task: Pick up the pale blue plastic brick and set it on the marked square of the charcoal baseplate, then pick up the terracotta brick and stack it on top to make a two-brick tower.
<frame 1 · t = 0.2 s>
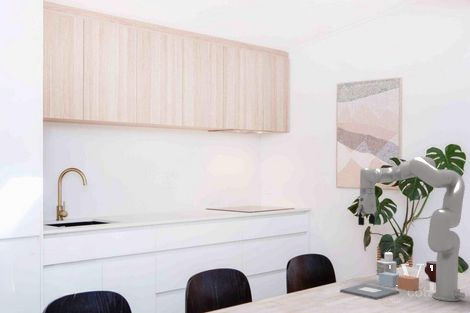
hand: (366, 224, 307), 30 cm above the table, fingers open, 9 cm apart
baseplate: (369, 292, 284), on the table
container: (386, 275, 327), on the table
terracotta brick: (408, 289, 293), on the table
blue brick: (388, 285, 301), on the table
mug: (432, 281, 314), on the table
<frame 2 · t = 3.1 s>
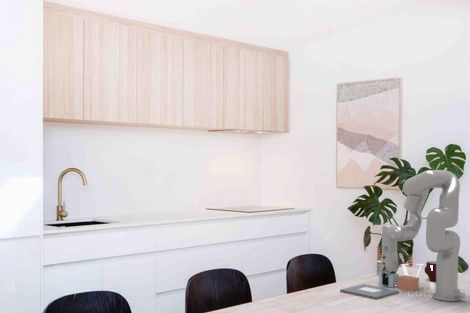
hand: (388, 283, 301), 1 cm above the table, fingers closed on blue brick, 6 cm apart
blue brick: (388, 285, 301), on the table, touching gripper
everything else where it was.
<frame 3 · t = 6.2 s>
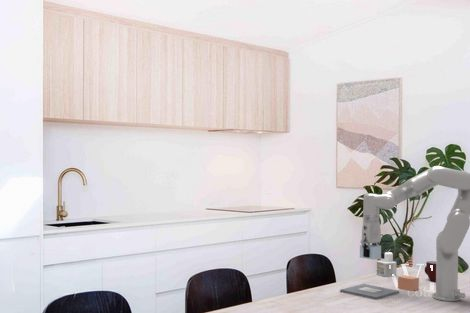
hand: (370, 256, 284), 18 cm above the table, fingers closed on blue brick, 6 cm apart
blue brick: (370, 257, 284), point 17 cm above the table, touching gripper
everything else where it was.
when the fingers open (3 cm above the table, at t = 9.5 s): blue brick stays where it is, resting on baseplate.
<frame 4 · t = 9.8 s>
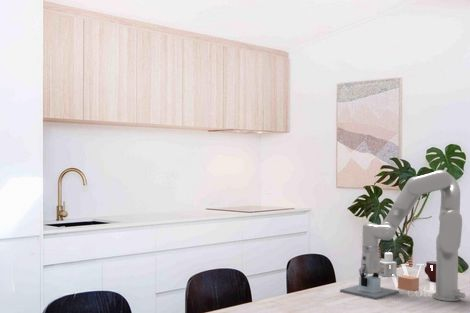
hand: (369, 284, 284), 4 cm above the table, fingers open, 9 cm apart
blue brick: (369, 289, 284), point 1 cm above the table, touching baseplate
everything else where it was.
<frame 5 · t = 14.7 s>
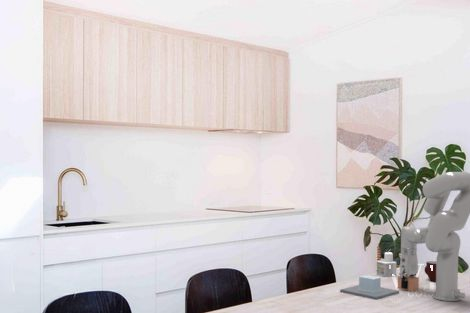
hand: (408, 287, 294), 1 cm above the table, fingers closed on terracotta brick, 6 cm apart
terracotta brick: (408, 288, 294), on the table, touching gripper
everything else where it was.
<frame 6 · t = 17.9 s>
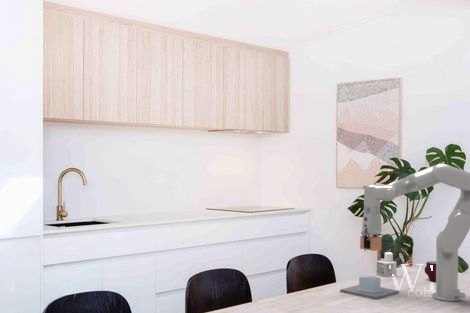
hand: (370, 247, 284), 22 cm above the table, fingers closed on terracotta brick, 6 cm apart
terracotta brick: (370, 249, 284), point 21 cm above the table, touching gripper
everything else where it was.
when the fingers open (9 cm above the table, at t = 21.4 s): terracotta brick stays where it is, resting on blue brick.
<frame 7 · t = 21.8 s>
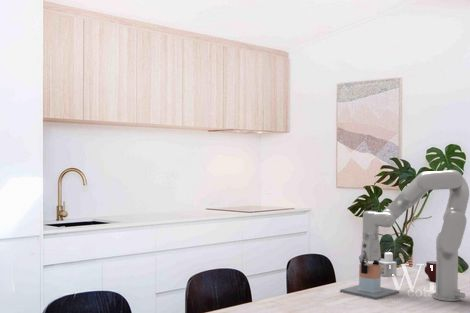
hand: (369, 272, 284), 10 cm above the table, fingers open, 9 cm apart
terracotta brick: (369, 277, 284), point 7 cm above the table, touching blue brick
blue brick: (369, 289, 284), point 1 cm above the table, touching baseplate, terracotta brick
everything else where it was.
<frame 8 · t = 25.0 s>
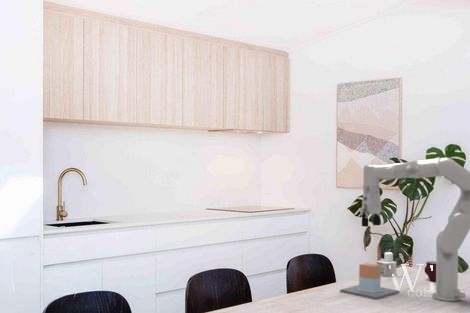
hand: (370, 225, 284), 32 cm above the table, fingers open, 9 cm apart
nothing on the table moved.
at the end: blue brick 0.1 cm off-centre on the baseplate, point 1.4 cm above the baseplate's base; terracotta brick 0.1 cm off-centre on the blue brick, point 6.0 cm above the blue brick's base; terracotta brick tilted 0° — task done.
